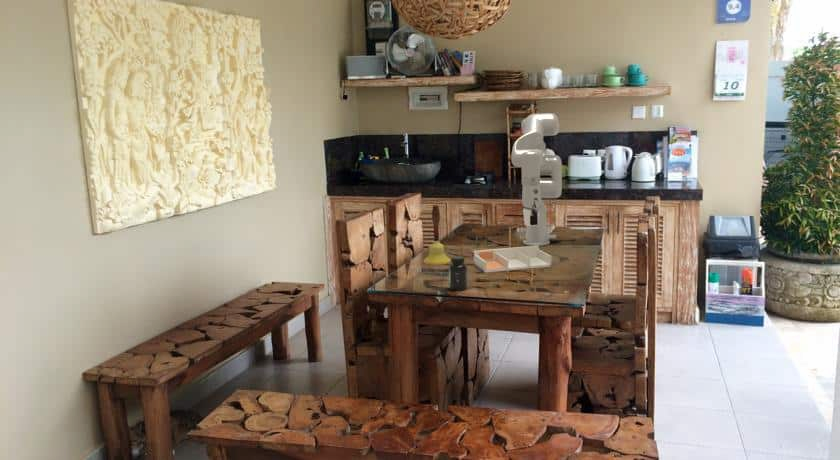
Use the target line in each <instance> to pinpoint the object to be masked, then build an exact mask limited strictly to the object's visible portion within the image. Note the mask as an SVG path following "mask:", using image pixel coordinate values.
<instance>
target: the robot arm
mask: <svg viewBox="0 0 840 460" xmlns="http://www.w3.org/2000/svg"><path fill="white" fill-rule="evenodd" d="M520 125H521V132H522V134H523V135H521V136H520V137H519V138H517V140H516V141H514V144H513V145H512V149H511V150H512V151H511V164H512V165H513V167H516V168H521V186H522V191H521V193H522V194H521V196H522V197H521V202H522V203H521V204H522V207H523V208H530V210H531V216H530V225H537V224H538V225H537V226H526V225H525V226H526V239H523V240H522V241H523V242H522V243H523V245H526V246H537V245H538V246H539V247H540V246H546V245H549V244H550V243H551V241H550V239H551V240H553V239H557V234H549V233H547V205H546V204H545V203H544V201H543V200H542V199H558V198H560V197H561V196H562V192H563V191H562V190H563V188H562V187H563V184H562V183H563V182H562V181H563V179H562V178H563V177H562V176H563V169H562V168H563V166H562V164H563V163H562V159H561V157H560V156H559V155H557V154H547V153H546V149H547V148H546V146H547V145H546V143H545V141H544V137H549V136H550V137H551V136H553V137H554V136H556V135H558V134H559V131H560V121H559V118H558V116H557V115H556V113H553V112H552V113H551V112H549V113H547V112H546V113H531V114H529V115H528V116H526V118H524V119H523V120H522V121H521V123H520ZM541 176H550V177H541ZM533 210H534V211H533ZM538 211H539V218H538Z"/></svg>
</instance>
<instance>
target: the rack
mask: <svg viewBox="0 0 840 460" xmlns="http://www.w3.org/2000/svg"><path fill="white" fill-rule="evenodd" d="M539 247H540V246H538V245H537V246H531V245H526V246H517V247H515V246H513V247H503V248H492V249H480V250H473V265H474V266H475V267H477V268H478V269H479V270H481V271H482V272H483V273H485V274H486V273H496V272H504V271H505V272H507V271H517V270H528V269H529V270H530V269H540V268H548V267H549V268H550V267H552V255H550V254H549V253H546V252H545V251H543V250H540V248H539Z"/></svg>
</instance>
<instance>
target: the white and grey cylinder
mask: <svg viewBox="0 0 840 460" xmlns="http://www.w3.org/2000/svg"><path fill="white" fill-rule="evenodd" d="M533 211H534V210H533ZM522 212H523V213H522V214H523V223H524V226H537V225H538V224H537V225H530V216H531V210H530V208H524V207H523V209H522ZM538 218H539V211H538Z"/></svg>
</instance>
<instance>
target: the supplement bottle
mask: <svg viewBox="0 0 840 460" xmlns="http://www.w3.org/2000/svg"><path fill="white" fill-rule="evenodd" d="M450 259H451V262H450V263H451V264H450V265H449V266H448V277H449V279H448V283H449V284H448V285H449V289H450V290H451V289H452V291H456V290H460V291H465V290H467V289H468V266H467V264H466V263H465V257H464V256H463V255H462V256H460V255H459V256H451V258H450ZM464 289H465V290H464Z"/></svg>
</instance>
